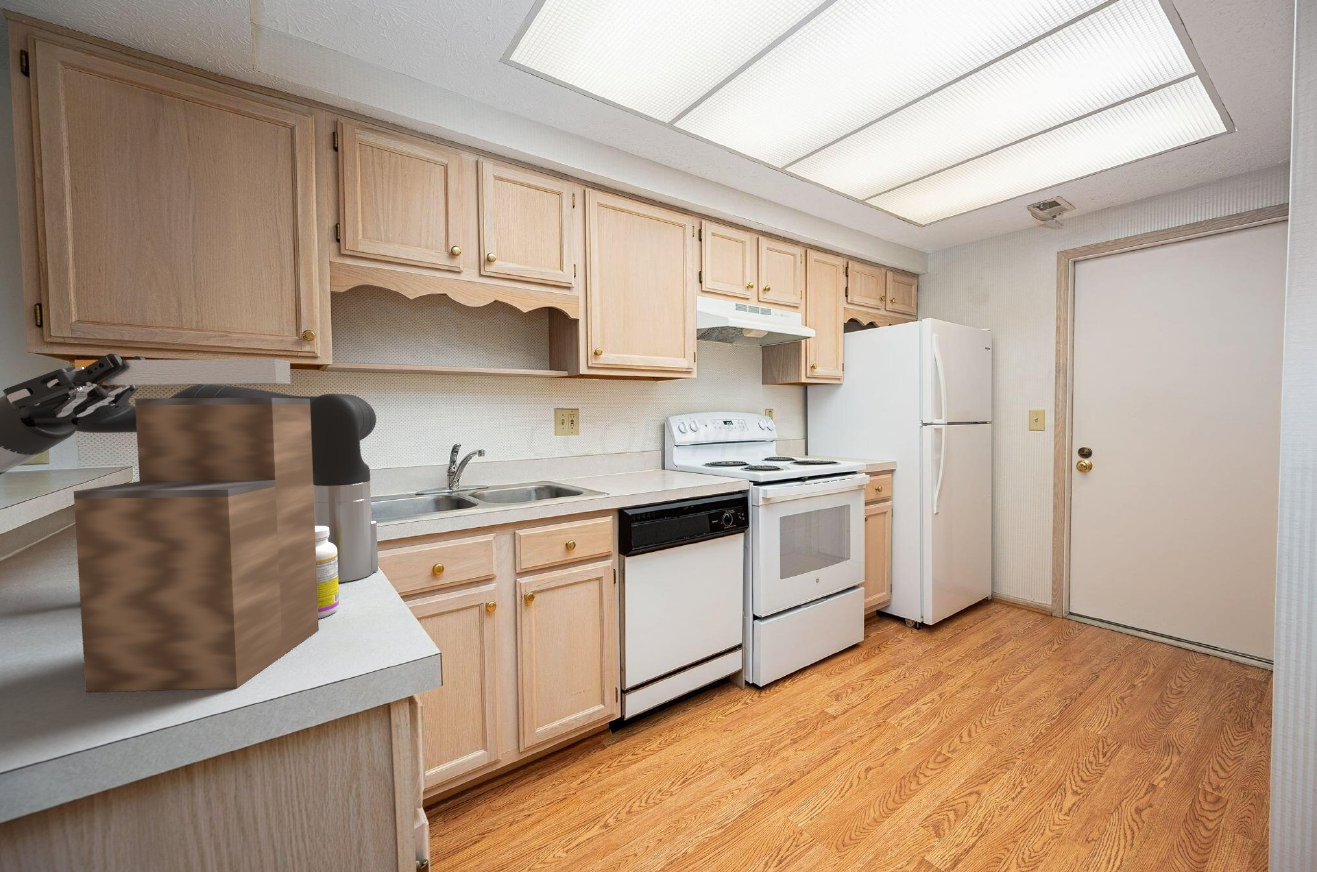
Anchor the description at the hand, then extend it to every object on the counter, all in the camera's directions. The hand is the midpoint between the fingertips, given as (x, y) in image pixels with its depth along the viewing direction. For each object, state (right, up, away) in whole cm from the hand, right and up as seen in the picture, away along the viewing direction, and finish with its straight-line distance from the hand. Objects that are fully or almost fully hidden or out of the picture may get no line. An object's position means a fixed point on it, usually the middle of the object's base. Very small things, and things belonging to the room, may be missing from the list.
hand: (132, 361), depth 71 cm
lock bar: (+7, -3, 0) cm, 7 cm away
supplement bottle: (+15, -36, +13) cm, 41 cm away
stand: (+12, -37, -2) cm, 39 cm away
